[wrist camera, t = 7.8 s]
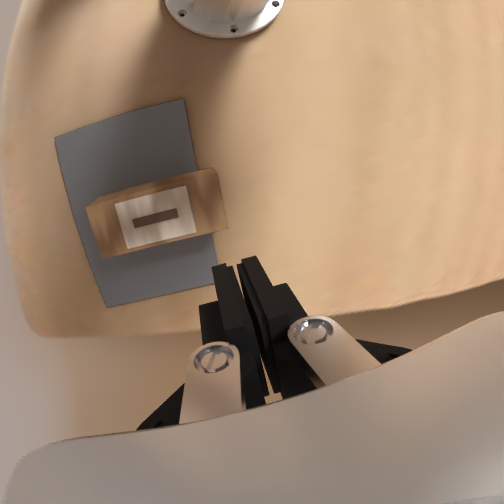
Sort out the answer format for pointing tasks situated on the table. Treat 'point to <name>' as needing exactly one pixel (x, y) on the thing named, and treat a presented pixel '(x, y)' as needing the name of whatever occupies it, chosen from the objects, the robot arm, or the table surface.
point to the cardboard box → (157, 213)
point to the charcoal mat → (126, 176)
